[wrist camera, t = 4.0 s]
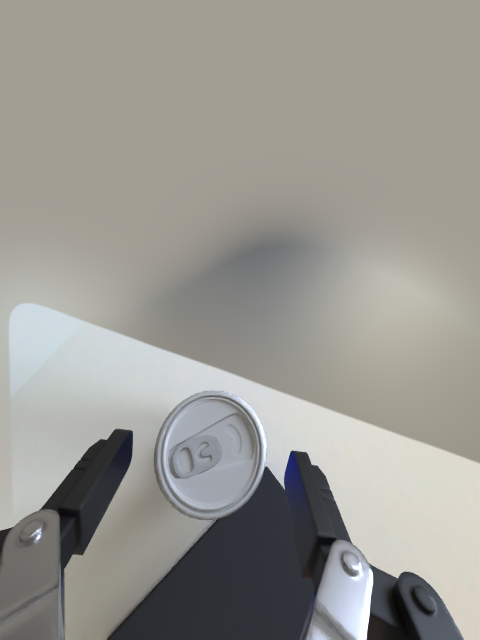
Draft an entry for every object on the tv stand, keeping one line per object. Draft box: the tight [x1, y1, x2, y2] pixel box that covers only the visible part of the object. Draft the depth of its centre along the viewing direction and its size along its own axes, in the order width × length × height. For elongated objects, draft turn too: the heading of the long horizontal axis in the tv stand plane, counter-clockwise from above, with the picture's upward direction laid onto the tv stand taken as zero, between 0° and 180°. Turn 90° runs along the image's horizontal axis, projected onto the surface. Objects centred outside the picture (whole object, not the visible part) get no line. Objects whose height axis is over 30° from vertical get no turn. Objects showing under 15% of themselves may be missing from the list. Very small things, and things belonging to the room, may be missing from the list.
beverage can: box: [154, 391, 266, 520], centre depth 16 cm, size 5×5×15 cm
